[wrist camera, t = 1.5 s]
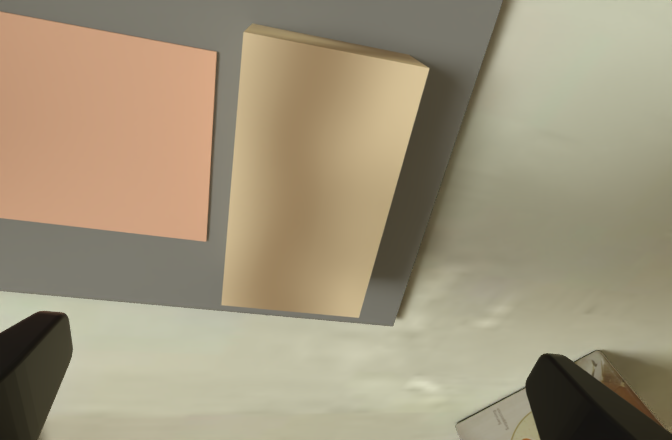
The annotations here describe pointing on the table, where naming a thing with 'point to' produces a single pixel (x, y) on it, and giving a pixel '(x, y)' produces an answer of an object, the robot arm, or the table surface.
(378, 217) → the maple tile
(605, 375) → the coffee box
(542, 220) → the table surface
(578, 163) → the table surface
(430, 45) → the mat
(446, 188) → the table surface
